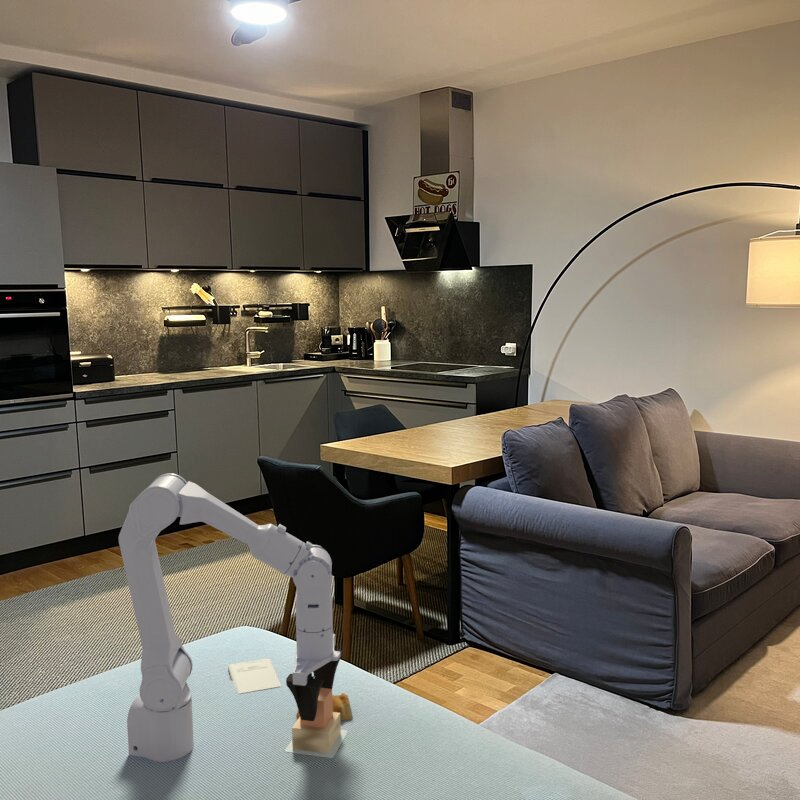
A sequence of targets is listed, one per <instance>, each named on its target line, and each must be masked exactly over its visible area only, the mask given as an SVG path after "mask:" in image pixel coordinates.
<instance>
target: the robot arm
mask: <svg viewBox="0 0 800 800" xmlns="http://www.w3.org/2000/svg"><path fill="white" fill-rule="evenodd" d="M178 517H179V518H180V520H179V525H188V524H192V523H198V522H199V523H200V522H202V523H204V524H207V525H208V526H211V527H212V528H215V529H217V530H218V531H220V532H223V533H224V534H226V535H228V536H230V537H232V538H233V539H236V540H238V541H240V542H242V543H244V544H246V545H247V546H248V548H249V552H250V555H251V557H252V558H254V559H256V560H258V561H260V562H261V563H263V564H265V565H267V566H268V567H270V568H272V569H274V570H276V571H277V572H279V573H281V574H282V575H284V576H286V577H289V578H292V580H293V583H294V586H295V587H296V596H295V627H296V628H295V630H296V632H295V634H296V635H295V636H296V638H295V639H296V650H295V657H294V658H295V661H294V670H293V671H292V673H289V675H288V676H287V677H286V679H285V683H286V686H287V688H288V689H289V691H290V692H291V694H292V696H293V698H294V700H295V703H296V706H297V712H298V711H299V714H300V717H301V720H306V721H314V720H315V717H316V712H317V703H318V696H319V692H320V689H321V688H328V689H332V690H333V687H334V681H335V675H336V671H337V669H338V666H339V663H340V660H341V658H342V656H343V650H342V649H339V648H335V646H336V634H335V633H334V631H333V630H334V628H333V627H334V626H333V623H334V620H333V617H334V616H333V596H332V581H333V574H332V569H333V568H332V565H333V562H332V561H333V560H332V558H331V556H330V554H329V553H328V551H327V550H326V549H325V548H323V547H322V546H321V545H318V544H313V543H312V542H310V541H306V543H305V542H304V541H302V540H300V539H299V538H297V537H296V536H294V535H292V534H290V533H288V532H286V531H287V527H286V526H284V525H282V524H281V523H279V524H278V526H277V525H274V524H273V523H266V524H262V525H259V524H257V523H256V522H254V521H252V520H251V519H249V518H248V517H247V516H245V515H243V514H242V513H240V512H239V511H237V510H235V509H234V508H232V507H231V506H230V505H228V504H226V503H224V501H222V500H220V499H218V498H217V497H215V495H212V494H211V493H210V492H207V491H206V490H205V489H204V488H203V487H201V486H200V485H198V484H197V483H194V482H192V481H190V480H188V481H187V480H186V479H185V478H184V477H182V476H181V475H179V474H176V473H164V474H161V475H159V476H158V477H156V478H155V479H154V480H153V481H152V482H151V483H150V484H149V486H147V487H146V488H145V489H144V490H142V491H141V492H140V493H139V494H138V495H137V496H136V498H135V499H133V501H132V502H131V503H130V504H129V507H128V512H127V515H126V516H125V520H124V522H123V524H122V526H121V527H122V528H121V529H120V532H119V535H118V545H119V548H120V549H119V550H120V554H121V557H122V562H123V567H124V571H125V576H126V580H127V584H128V588H129V594H130V598H131V603H132V607H133V613H134V616H135V619H136V624H137V625H136V626H137V629H138V633H139V638H140V642H141V643H140V644H141V647H142V649H141V651H142V652H141V661H140V671H141V682H140V687H139V695H138V696H136V698H134V700H133V701H132V702H131V705H130V706H129V710H128V713H127V719H126V725H127V726H126V729H127V745H128V747H127V748H128V755H129V756H134V757H139V758H140V757H141V758H147V759H149V760H151V761H154V762H159V763H167V762H172V761H175V760H179V759H181V758H183V757H186V756H187V755H188V754H190V753H191V751H192V750H194V749H193V748H194V741H195V740H194V722H193V721H194V720H193V696H192V691H191V689H190V688H189V685H188V678H189V677H190V675H191V674H192V671H193V660H192V657H191V656H190V654H189V653H188V651H186V650H185V648H184V646H183V642H182V639H181V638H180V636H178V635H177V633H176V631H175V626H174V622H173V621H174V620H173V617H172V612H171V608H170V602H169V599H168V594H167V589H166V583H165V580H164V576H163V571H162V566H161V563H160V558H159V552H158V547H157V542H156V538H157V537H158V535H159V534H160V533H161V531H163V530H164V529H166V528H167V527H168V526H170V525H171V524H172V523H174V522H175V521H176V519H177V518H178Z"/></svg>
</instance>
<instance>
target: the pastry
mask: <svg viewBox="0 0 800 800" xmlns="http://www.w3.org/2000/svg"><path fill="white" fill-rule="evenodd" d="M350 703H351V702H350V698H349V695H348V694H346V693H344V692H343V693H341V694H340V695H338V694H337V695H336V694H335V695H333V694H332V709H333V712H337V713H340V722H341V721H350V720H352V719H353V717H354V716H353V712H352V708H351V707H352V706H351V704H350ZM295 717H296V719H297V720H298V719H299V717H300V714H299V711H298V710H297V713H296V716H295Z"/></svg>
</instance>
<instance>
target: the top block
mask: <svg viewBox="0 0 800 800" xmlns="http://www.w3.org/2000/svg"><path fill="white" fill-rule="evenodd" d="M332 695H333V688H332V689H328V688H321V689H320V692H319V696H318V703H317V712H316V717H315V720H314V721H306V720H301V717H300V725H303V726H310V727H318V728H325V727H326V725H327V723H328V722H329V720H330V719H331V717H332V716H333V709H332Z"/></svg>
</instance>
